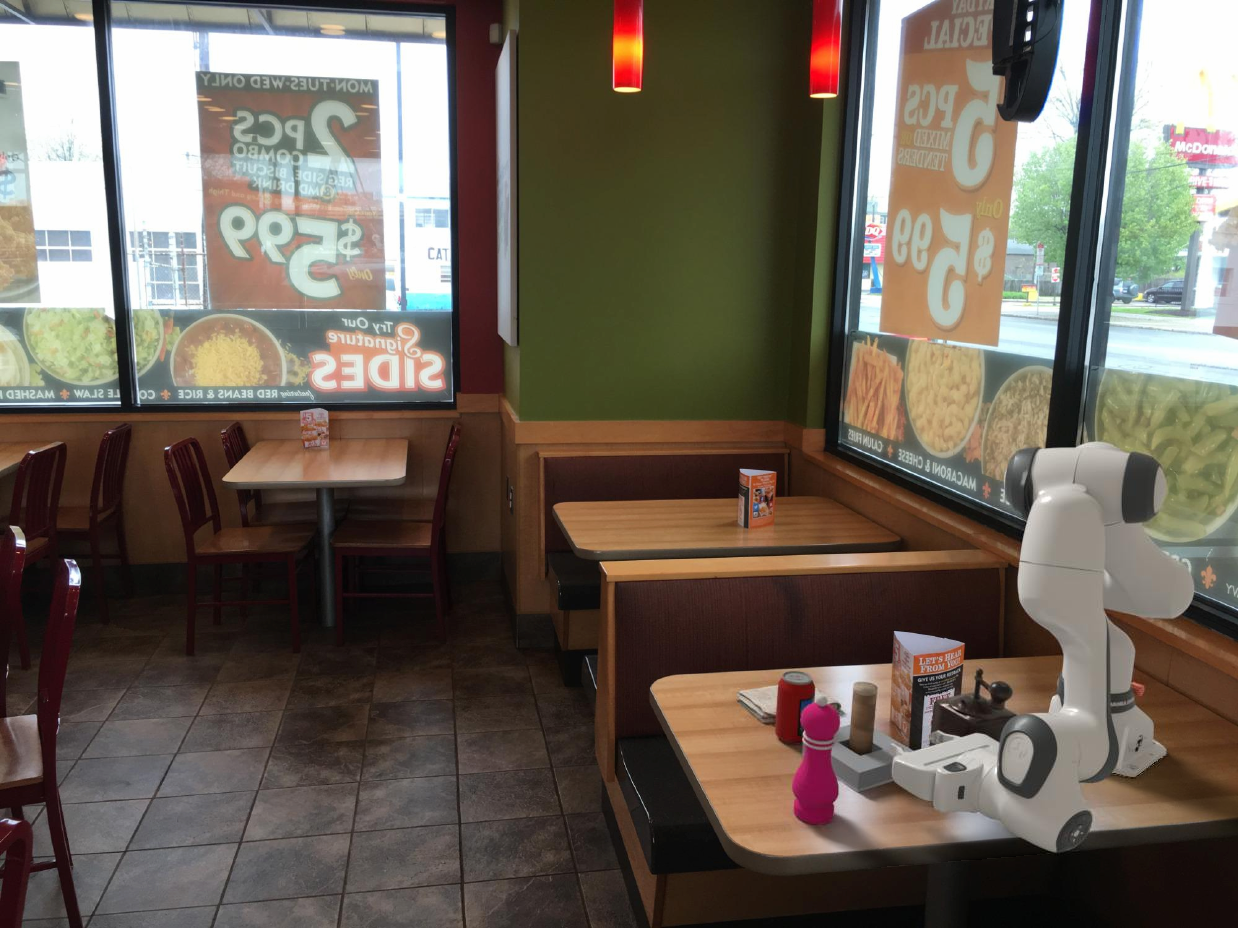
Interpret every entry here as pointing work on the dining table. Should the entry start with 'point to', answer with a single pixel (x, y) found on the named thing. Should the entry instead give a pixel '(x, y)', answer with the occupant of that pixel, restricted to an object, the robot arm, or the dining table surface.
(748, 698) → the washcloth
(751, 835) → the dining table surface
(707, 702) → the dining table surface
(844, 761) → the hole block
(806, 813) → the pepper mill
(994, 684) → the manual coffee grinder
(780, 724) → the beverage can
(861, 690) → the dowel
